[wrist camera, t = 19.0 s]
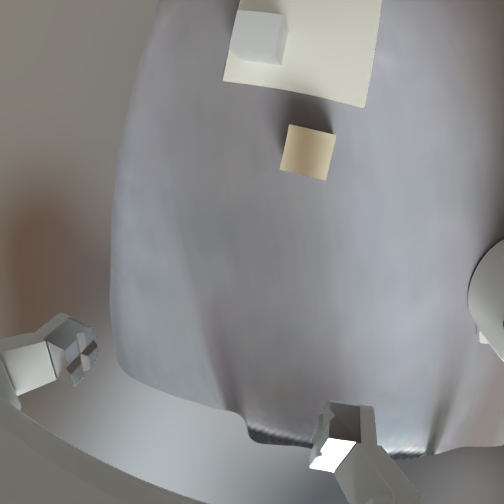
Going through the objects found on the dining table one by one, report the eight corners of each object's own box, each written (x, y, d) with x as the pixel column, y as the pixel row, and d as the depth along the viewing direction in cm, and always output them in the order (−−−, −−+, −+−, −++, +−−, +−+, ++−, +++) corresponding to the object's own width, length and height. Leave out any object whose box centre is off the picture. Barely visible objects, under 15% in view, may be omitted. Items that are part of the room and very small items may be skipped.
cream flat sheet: (386, -45, 22) (386, -46, 22) (364, 108, 31) (364, 108, 31) (257, -65, 24) (257, -66, 24) (223, 81, 33) (222, 80, 33)
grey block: (288, 30, 29) (282, 14, 24) (281, 65, 31) (274, 54, 26) (249, 26, 30) (237, 10, 25) (241, 60, 31) (228, 49, 26)
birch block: (333, 135, 33) (336, 135, 28) (324, 173, 35) (325, 180, 30) (293, 125, 33) (289, 124, 28) (285, 164, 35) (279, 169, 30)
